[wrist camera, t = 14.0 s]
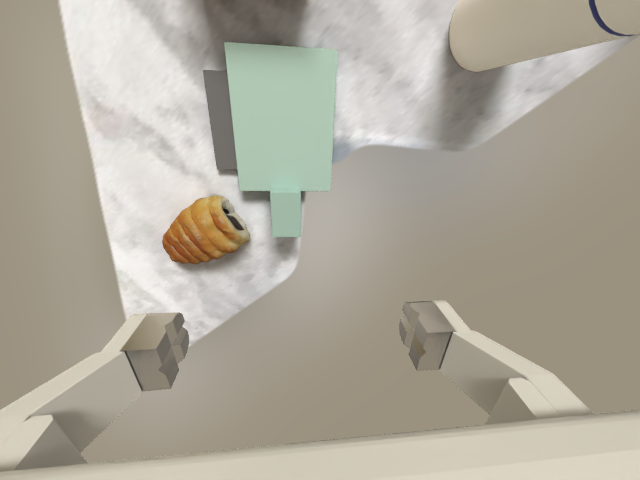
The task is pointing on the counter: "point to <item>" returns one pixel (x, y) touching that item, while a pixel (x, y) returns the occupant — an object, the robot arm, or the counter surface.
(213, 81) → the mat
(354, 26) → the counter surface
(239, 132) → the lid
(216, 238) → the pastry
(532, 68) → the counter surface
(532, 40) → the cylindrical container
